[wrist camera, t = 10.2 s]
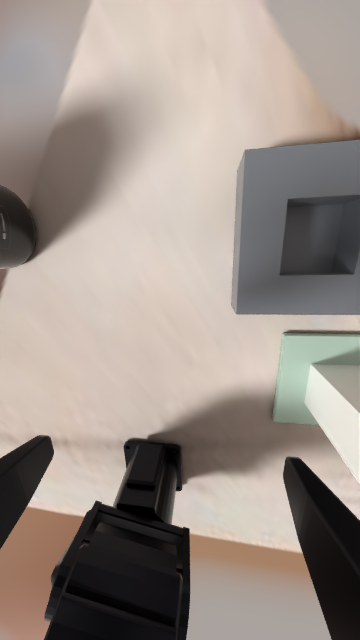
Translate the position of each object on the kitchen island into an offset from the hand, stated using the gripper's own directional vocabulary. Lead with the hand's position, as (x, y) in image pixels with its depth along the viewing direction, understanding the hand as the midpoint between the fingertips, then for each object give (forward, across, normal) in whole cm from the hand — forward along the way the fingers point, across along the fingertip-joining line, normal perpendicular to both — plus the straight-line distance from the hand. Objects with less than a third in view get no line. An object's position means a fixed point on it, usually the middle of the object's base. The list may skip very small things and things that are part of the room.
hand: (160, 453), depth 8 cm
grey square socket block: (+12, -9, -8) cm, 17 cm away
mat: (+12, -13, +4) cm, 18 cm away
